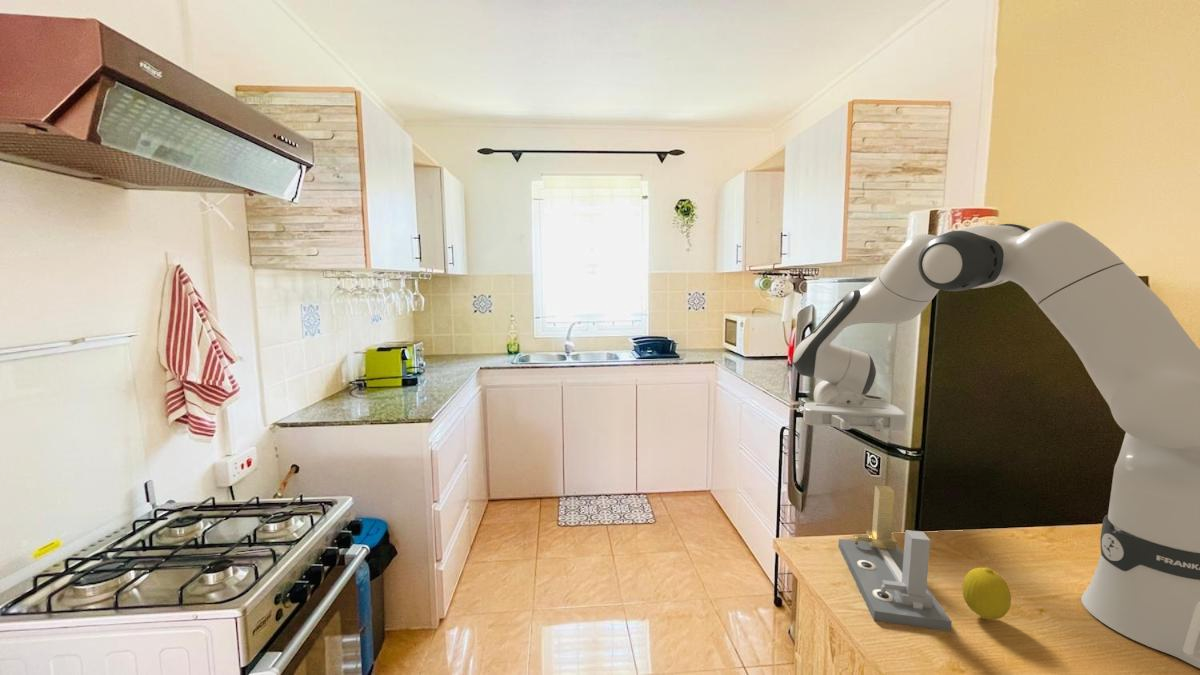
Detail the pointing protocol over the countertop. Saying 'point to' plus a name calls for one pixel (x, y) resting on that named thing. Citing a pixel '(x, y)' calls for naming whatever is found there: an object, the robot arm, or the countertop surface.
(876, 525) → the brass leg
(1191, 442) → the robot arm
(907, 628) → the countertop surface
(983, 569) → the lemon
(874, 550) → the board
